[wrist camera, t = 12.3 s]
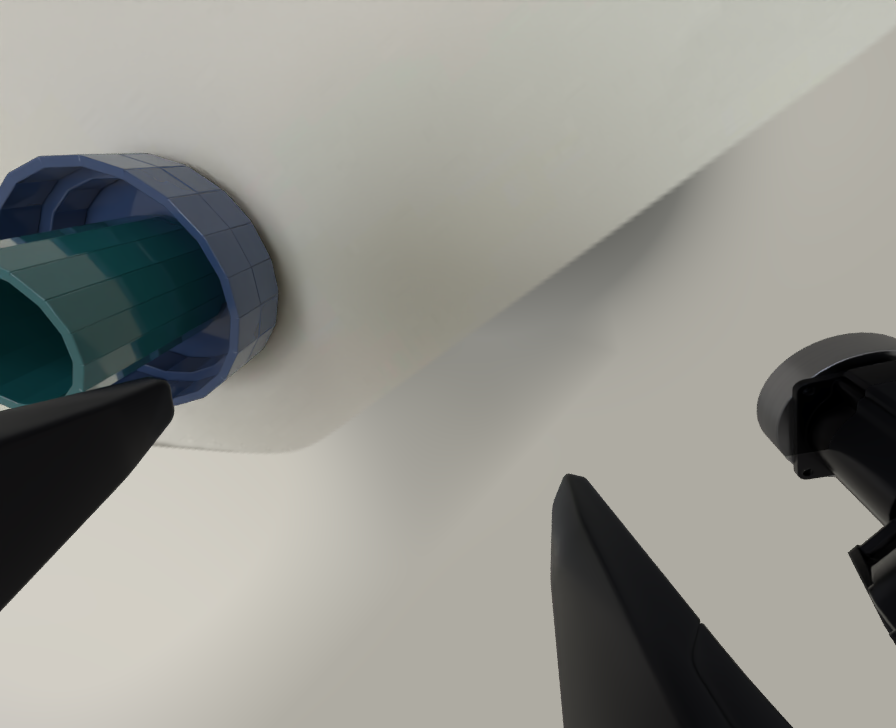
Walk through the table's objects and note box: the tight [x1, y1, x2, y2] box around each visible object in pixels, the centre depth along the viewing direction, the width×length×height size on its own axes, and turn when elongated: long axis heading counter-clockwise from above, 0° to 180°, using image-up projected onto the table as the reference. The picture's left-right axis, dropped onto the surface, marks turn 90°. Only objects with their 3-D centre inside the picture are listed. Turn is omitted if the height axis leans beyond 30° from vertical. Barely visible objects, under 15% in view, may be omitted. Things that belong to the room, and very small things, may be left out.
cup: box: [0, 214, 227, 409], centre depth 17 cm, size 6×6×8 cm
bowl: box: [0, 153, 279, 406], centre depth 19 cm, size 11×11×4 cm
